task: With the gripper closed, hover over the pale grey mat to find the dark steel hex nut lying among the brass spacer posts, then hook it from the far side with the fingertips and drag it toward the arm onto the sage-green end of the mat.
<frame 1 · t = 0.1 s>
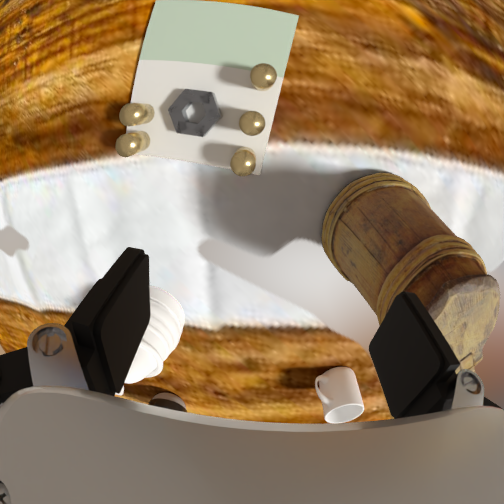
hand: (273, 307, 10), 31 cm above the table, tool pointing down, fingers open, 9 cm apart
mug: (331, 374, 59), on the table
tankard: (383, 238, 43), on the table
dark grey rounded piece: (170, 397, 65), on the table
mat: (205, 78, 32), on the table
nut: (197, 112, 34), point 1 cm above the table, touching mat
honey pot: (152, 311, 51), on the table
spacers: (193, 108, 31), on the mat, point 3 cm above the table
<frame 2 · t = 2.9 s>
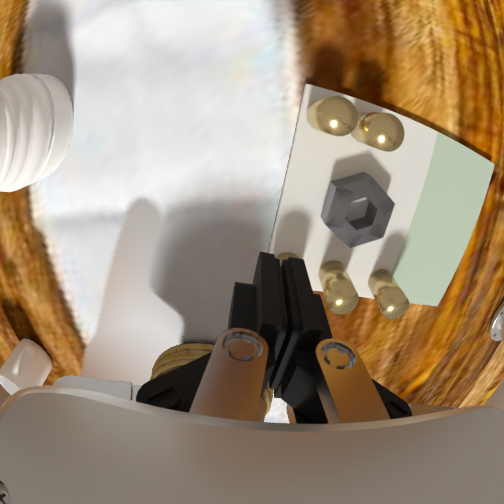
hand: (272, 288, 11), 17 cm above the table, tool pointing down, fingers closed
mug: (37, 348, 40), on the table
tankard: (202, 386, 40), on the table
mat: (393, 214, 27), on the table
nut: (354, 206, 25), point 1 cm above the table, touching mat
honey pot: (35, 126, 23), on the table
spacers: (367, 216, 23), on the mat, point 3 cm above the table
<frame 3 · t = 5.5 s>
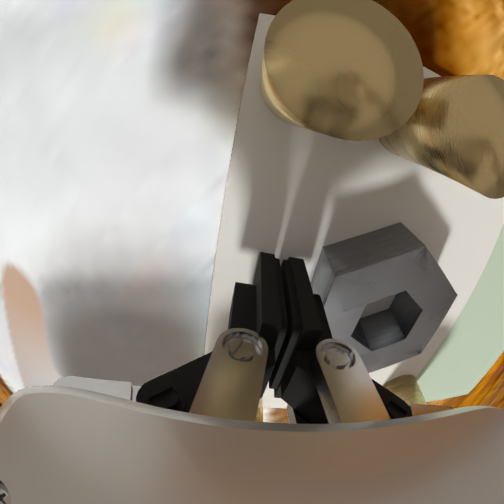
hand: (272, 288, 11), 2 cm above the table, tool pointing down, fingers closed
mat: (438, 292, 13), on the table
nut: (371, 291, 12), point 1 cm above the table, touching gripper
spacers: (399, 328, 10), on the mat, point 3 cm above the table
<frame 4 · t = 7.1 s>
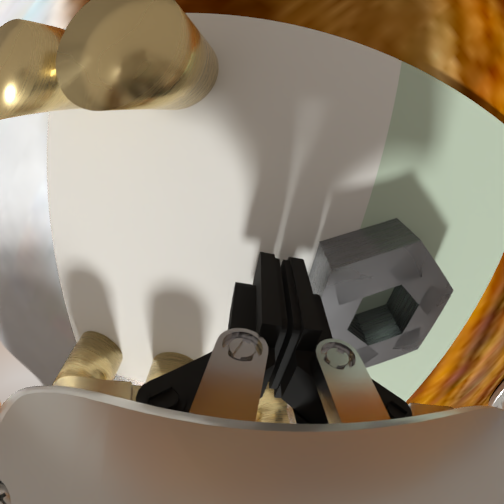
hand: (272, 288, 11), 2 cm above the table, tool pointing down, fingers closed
mat: (294, 269, 13), on the table
nut: (368, 287, 12), point 1 cm above the table, touching gripper, mat
spacers: (177, 296, 10), on the mat, point 3 cm above the table
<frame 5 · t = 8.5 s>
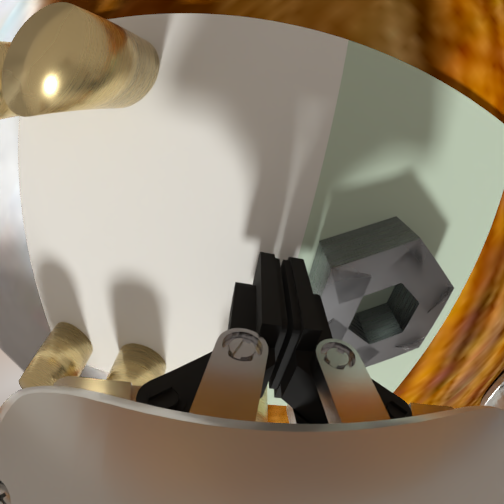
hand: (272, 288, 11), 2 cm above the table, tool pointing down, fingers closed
mat: (246, 261, 13), on the table
nut: (369, 285, 12), point 1 cm above the table, touching gripper, mat
spacers: (120, 284, 9), on the mat, point 3 cm above the table
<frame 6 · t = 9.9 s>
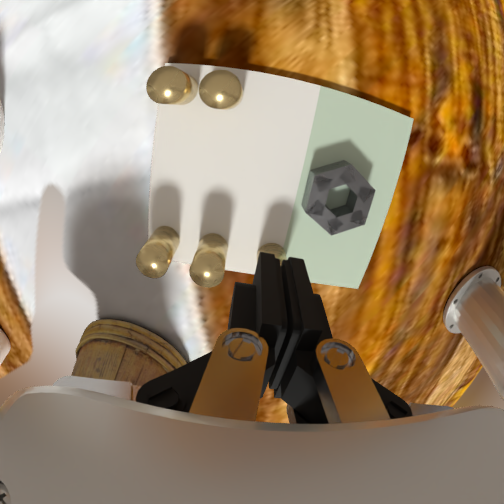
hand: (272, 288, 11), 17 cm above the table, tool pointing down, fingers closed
tankard: (128, 365, 40), on the table
mat: (276, 181, 26), on the table
nut: (334, 193, 26), point 1 cm above the table, touching mat
spacers: (226, 182, 23), on the mat, point 3 cm above the table
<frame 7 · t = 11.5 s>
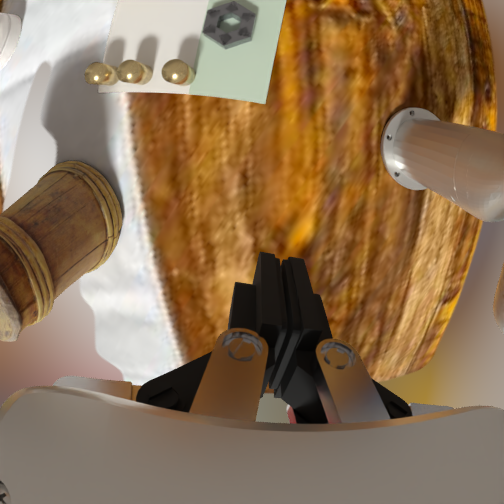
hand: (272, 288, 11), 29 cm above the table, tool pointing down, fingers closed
tankard: (73, 224, 41), on the table
mat: (188, 27, 28), on the table
nut: (230, 27, 27), point 1 cm above the table, touching mat
honey pot: (2, 43, 23), on the table
spacers: (149, 21, 24), on the mat, point 3 cm above the table
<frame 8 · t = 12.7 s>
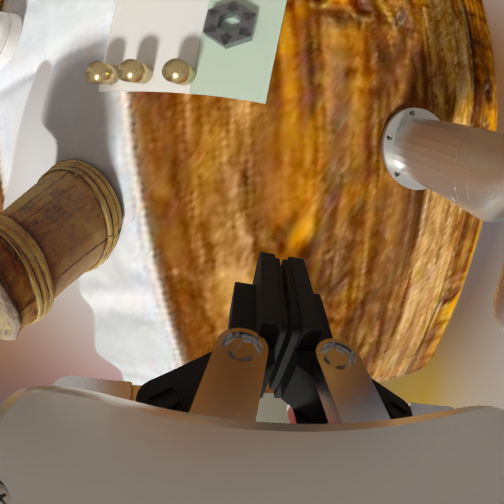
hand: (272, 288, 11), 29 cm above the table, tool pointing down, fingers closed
tankard: (73, 223, 41), on the table
mat: (189, 27, 28), on the table
nut: (230, 26, 27), point 1 cm above the table, touching mat
honey pot: (3, 42, 23), on the table
spacers: (150, 21, 24), on the mat, point 3 cm above the table
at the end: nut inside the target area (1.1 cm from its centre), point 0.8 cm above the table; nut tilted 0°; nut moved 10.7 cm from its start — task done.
